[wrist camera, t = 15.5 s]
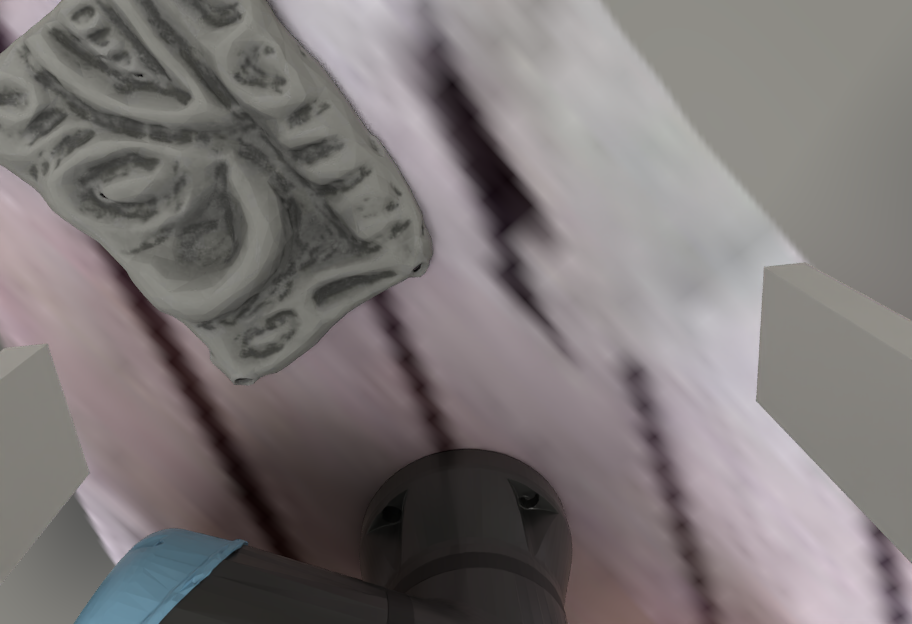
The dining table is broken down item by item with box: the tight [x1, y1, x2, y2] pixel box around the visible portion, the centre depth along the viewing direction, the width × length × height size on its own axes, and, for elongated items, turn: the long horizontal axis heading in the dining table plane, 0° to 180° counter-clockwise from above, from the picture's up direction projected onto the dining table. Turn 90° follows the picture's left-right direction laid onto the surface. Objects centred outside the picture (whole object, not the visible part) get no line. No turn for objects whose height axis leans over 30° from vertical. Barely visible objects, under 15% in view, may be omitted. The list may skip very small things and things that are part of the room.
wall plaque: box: [0, 0, 433, 385], centre depth 40 cm, size 23×19×4 cm
